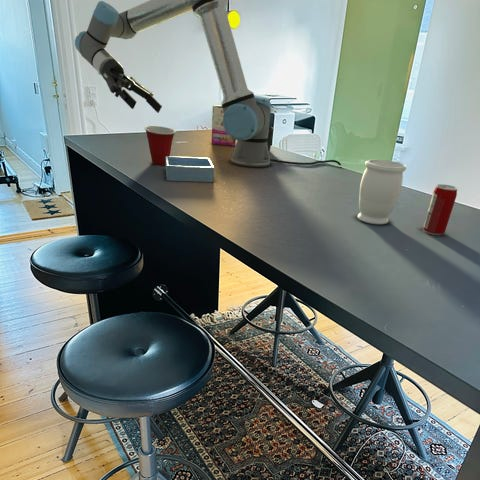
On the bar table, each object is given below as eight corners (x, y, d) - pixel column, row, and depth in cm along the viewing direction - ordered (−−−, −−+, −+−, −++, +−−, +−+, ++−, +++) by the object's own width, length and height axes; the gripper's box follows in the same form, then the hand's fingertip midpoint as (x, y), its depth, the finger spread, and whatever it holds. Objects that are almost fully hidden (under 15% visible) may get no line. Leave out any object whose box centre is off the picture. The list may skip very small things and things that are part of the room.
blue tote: (208, 171, 157) (209, 158, 154) (213, 182, 144) (214, 167, 142) (165, 169, 154) (165, 156, 152) (167, 180, 141) (166, 165, 139)
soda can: (448, 235, 114) (464, 188, 108) (431, 236, 113) (445, 188, 107) (435, 228, 119) (449, 182, 113) (417, 228, 117) (431, 182, 111)
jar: (385, 229, 115) (400, 169, 107) (348, 220, 119) (359, 162, 112) (396, 219, 123) (411, 163, 115) (360, 211, 127) (372, 157, 120)
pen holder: (251, 148, 204) (253, 124, 199) (271, 150, 203) (273, 126, 198) (248, 151, 196) (250, 127, 191) (269, 153, 195) (272, 129, 190)
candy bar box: (236, 145, 209) (239, 106, 200) (234, 146, 204) (237, 107, 196) (213, 142, 210) (214, 104, 201) (211, 144, 206) (212, 105, 197)
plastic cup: (160, 168, 156) (159, 131, 149) (139, 162, 161) (138, 126, 155) (181, 164, 163) (182, 129, 157) (161, 159, 168) (160, 125, 162)
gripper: (128, 83, 170) (164, 119, 167) (77, 71, 149) (117, 113, 146) (137, 64, 166) (174, 102, 163) (85, 50, 145) (127, 93, 142)
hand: (147, 107), depth 155 cm, fingers open, 13 cm apart
